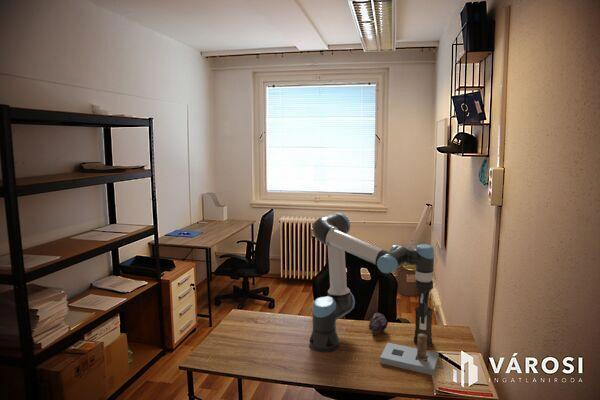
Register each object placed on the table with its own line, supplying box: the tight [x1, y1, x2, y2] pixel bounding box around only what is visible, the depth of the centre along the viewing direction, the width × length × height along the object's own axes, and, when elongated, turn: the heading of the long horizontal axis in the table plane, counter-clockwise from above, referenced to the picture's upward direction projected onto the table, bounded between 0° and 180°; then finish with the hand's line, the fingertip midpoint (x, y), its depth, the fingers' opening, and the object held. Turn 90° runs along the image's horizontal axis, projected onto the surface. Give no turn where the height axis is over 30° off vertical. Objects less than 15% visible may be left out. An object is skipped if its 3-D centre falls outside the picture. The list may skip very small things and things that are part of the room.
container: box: [413, 306, 434, 348], centre depth 207 cm, size 9×9×18 cm
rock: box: [368, 312, 389, 336], centre depth 221 cm, size 12×9×10 cm
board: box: [379, 342, 439, 376], centre depth 193 cm, size 24×14×3 cm, turn 64°
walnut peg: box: [416, 334, 428, 362], centre depth 189 cm, size 4×4×14 cm
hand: (422, 328), depth 187 cm, fingers closed
